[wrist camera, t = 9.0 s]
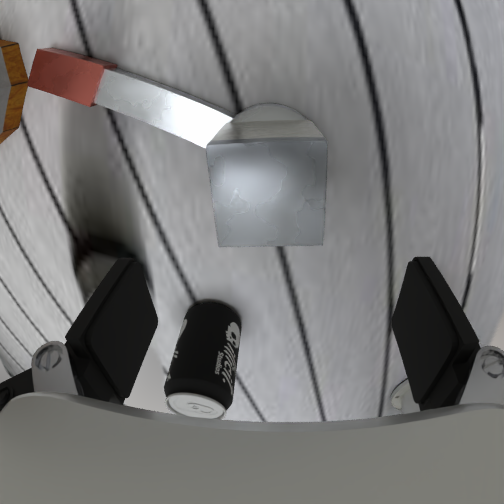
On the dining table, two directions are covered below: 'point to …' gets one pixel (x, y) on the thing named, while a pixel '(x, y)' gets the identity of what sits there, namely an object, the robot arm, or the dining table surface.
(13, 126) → the mug
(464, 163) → the dining table surface
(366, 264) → the dining table surface
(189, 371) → the beverage can
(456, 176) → the dining table surface
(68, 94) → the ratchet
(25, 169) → the dining table surface
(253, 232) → the brushed metal block
